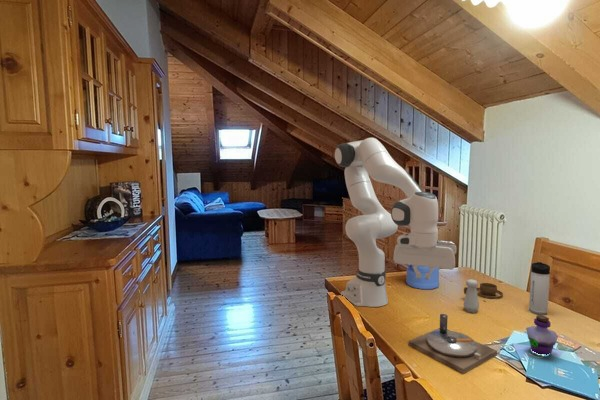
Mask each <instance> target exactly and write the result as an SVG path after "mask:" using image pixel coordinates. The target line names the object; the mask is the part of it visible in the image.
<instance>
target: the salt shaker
mask: <svg viewBox="0 0 600 400" xmlns="http://www.w3.org/2000/svg"><path fill="white" fill-rule="evenodd" d="M465 281H466V282H465V285H466V286H467V292H466V294H465V297H464V300H463V307H464V309H465V311H466V312H467V313H471V314H475V313H477V312H478V310H479V308H480V302H479V296H478V295H477V293H478V291H477V289H476V287H477V288H478V286H479V282H478V281H477V280H476V279H470V278H469V279H467V280H465Z"/></svg>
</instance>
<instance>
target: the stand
mask: <svg viewBox="0 0 600 400" xmlns="http://www.w3.org/2000/svg"><path fill="white" fill-rule="evenodd" d="M438 330H440V327H438V328H436V329H434V330H431V331H428V332H425V333H424V334H421V335H419V336H417V337H414V338H412V339H410V340H408V346H409V347H412V348H413V349H415V350H417V351H419V352H421V353H423V354H425V355H427V356H429V357H430V358H432V359H434V360H436V361H438V362H440V363H442V364H444V365H445V366H447V367H449V368H451V369H453V370H456V371H457V372H459V373H460V374H462V375H463V374H465V373H467V372H469V371H472V370H473V369H474V368H477V367H478V366H480V365H482V364H484V363H485V362H487V361H488V360H491V359H493V358H494V357H496V356H497V355H498V350H497V349H494V348H492V347H490V346H487V345H485V344H482V343H480V342H478V341H475V340H474V341H475V342H476V343H477V352H476V353H475V354H474V355H472V356H469V357H451V356H447V355H444V354H441V353H438V352H436V351H435V350H433V349H432V348H431V347H430V346H429V345H428V343H427V336H428V334H429V333H431V332H433V331H438ZM447 330H449V331H451V330H450V329H448V328H447Z"/></svg>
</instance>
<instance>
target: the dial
mask: <svg viewBox="0 0 600 400" xmlns="http://www.w3.org/2000/svg"><path fill="white" fill-rule="evenodd" d="M439 328H440V330H438V331H433V330H432V331H433V332H431V331H430V332H431V333H429V334H428V336H427V343H428V345H429V346H430V347H431V348H432V349H433V350H435V351H436V352H438V353H441V354H444V355H447V356H451V357H469V356H472V355H474V354H475V353H476V352H477V343H476V342H477V341H476V342H475V340H474V339H473V338H472V337H471V336H468V335H467V334H465V333H462V332H458V331H456V330H455V331H453V330H450V329H448V315H447V314H446V313H445V314H444V313H441V314H439ZM447 329H448V330H447ZM449 330H450V331H449Z"/></svg>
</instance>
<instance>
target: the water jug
mask: <svg viewBox="0 0 600 400" xmlns="http://www.w3.org/2000/svg"><path fill="white" fill-rule="evenodd" d="M417 269H418V271H419V272H421V278H416V273H415V271H414V269H413V265H407V268H406V279H405V282H406V284H407V285H408V286H409V287H410V288H411V287H412V288H414V289H418V288H419V290H420V289H421V290H433V289H437V288H438V287H439V285H440V268H434V270H433V272H432V273H431V274H430V280H429V279H425V274H426V273H429V272H430V270H429V267H424V266H418V267H417Z"/></svg>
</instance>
